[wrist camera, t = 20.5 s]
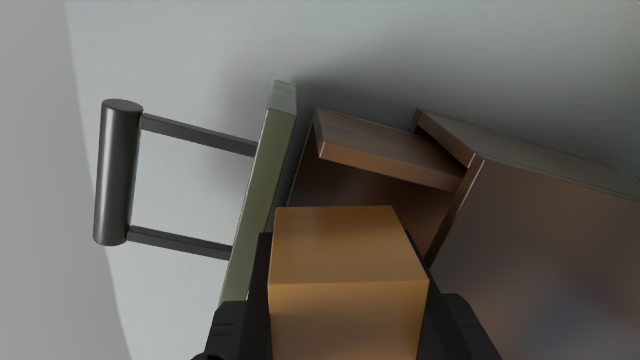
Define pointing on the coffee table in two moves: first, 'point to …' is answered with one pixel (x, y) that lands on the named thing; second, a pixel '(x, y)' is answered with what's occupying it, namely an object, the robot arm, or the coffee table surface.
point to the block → (344, 285)
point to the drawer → (270, 152)
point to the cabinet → (539, 245)
